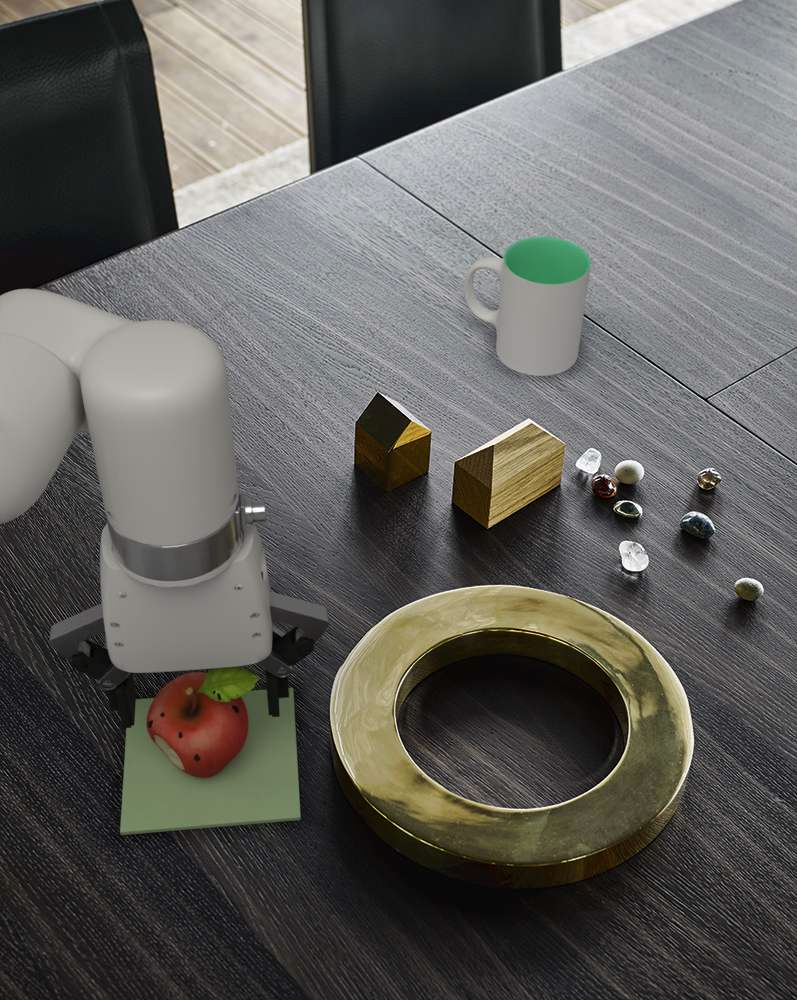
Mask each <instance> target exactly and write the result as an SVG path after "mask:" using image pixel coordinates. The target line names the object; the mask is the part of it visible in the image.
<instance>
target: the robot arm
mask: <svg viewBox="0 0 797 1000" xmlns="http://www.w3.org/2000/svg"><path fill="white" fill-rule="evenodd" d="M80 433H87V434H89V437H90V438H89V439H90V443H91V449H92V452H93V453H92V454H93V459H94V463H95V464H94V465H95V468H96V474H97V478H98V483H99V488H100V493H101V498H102V503H103V507H104V514H105V517H106V524H105V525H104V527H103V529H102V532H101V536H100V543H99V544H100V546H99V582H100V597H101V603H99V604H96V605H95V606H92V607H90V608H88V609H86V610H84V611H81V612H79V613H77V614H75V615H72V616H70V617H68V618H66V619H63V620H61V621H58V622H56V623H54V624H53V625H51V627H50V631H49V632H50V633H49V641H48V644H49V646H50V648H52V649H53V650H54V651H55V652H57V653H58V654H59V655H60V656H61V657H63V658H64V659H65V660H66V659H67V660H68V661H69V662H70V666H71V668H72V669H73V670H74V671H78V672H80V673H82V674H84V675H86V676H87V677H90V678H92V679H94V680H97V687H98V688H99V689H101V690H103V691H106V694H107V695H106V696H107V699H108V704H109V709H110V711H118V713H119V717H120V721H121V725H122V729H126V728H131V726H133V725H134V722H135V704H136V699H137V688H136V684H135V678H134V674H133V673H135V674H149V673H151V674H152V673H167V672H168V673H169V672H181V671H183V672H184V671H196V670H198V671H199V670H211V669H214V668H224V667H227V668H228V667H235V666H237V667H243V666H244V667H245V666H249V665H254V664H256V665H257V666H259V667H261V669H264V671H265V685H266V687H265V688H266V690H267V699H268V711H269V715H272V717H280V712H279V698H289V688H290V686H289V677H290V676H291V675H292V674H293V667H294V666H295V665H297V664H298V663H299V662H301V661H302V660H303V659H305V658H306V657H308V656H309V655H310V654H312V653H313V652H314V650H315V645H316V643H317V642H320V640H321V639H322V637H323V636H324V634H325V633H326V632H327V630H328V629H329V627H330V617H329V616H330V614H329V608H327V607H326V606H324V605H321V604H318V603H314V602H310V601H306V600H303V599H299V598H297V597H292V596H289V595H286V594H282V593H278V592H275V591H271V585H270V578H269V571H268V565H267V561H266V555H265V551H264V547H263V544H262V540H261V537H260V534H259V531H258V527H257V526H256V524H265V523H267V513H266V512H267V511H266V499H259V500H256V499H255V500H253V499H252V497H251V498H250V497H249V498H246V496H245V493H240V483H239V481H238V471H237V461H236V451H235V449H236V448H235V439H234V428H233V417H232V407H231V396H230V386H229V377H228V371H227V363H226V361H225V357H224V356H223V353H222V352H221V349H220V347H219V346H218V345H217V344H216V342H215V341H214V340H213V339H212V338H211V337H210V336H208V334H206V333H204V332H203V331H202V330H200V329H198V328H197V327H195V326H193V325H189V324H187V323H183V322H178V321H173V320H165V319H149V320H139V321H136V320H133V319H130V318H127V317H124V316H120V315H118V314H115V313H112V312H109V311H106V310H103V309H101V308H98V307H95V306H93V305H90V304H87V303H85V302H82V301H79V300H77V299H74V298H72V297H68V296H66V295H64V294H59V293H56V292H52V291H48V290H43V289H38V288H37V289H36V288H18V289H14V290H10V291H8V292H5V293H3V294H1V295H0V525H2V524H6V523H8V522H12V521H13V520H15V519H16V518H18V517H20V516H22V515H23V514H25V513H26V512H27V511H29V509H31V507H32V506H33V505H35V503H36V502H37V501H38V500H39V499H40V497H41V496H42V495H43V494H44V492H45V490H46V489H47V486H48V485H49V484H50V482H51V480H52V478H54V477H53V476H54V475H55V474H56V472H57V470H58V468H59V466H60V465H61V464H62V461H63V460H64V458H65V456H66V454H67V452H68V450H69V449H70V447H71V445H72V443H73V442H74V440H75V438H76V436H77V435H79V434H80ZM273 621H274V622H278V623H281V624H286V625H289V626H292V627H293V628H291V629H290V630H288V631H287V632H286V633H285V632H283V631H282V630H280V629H279V628H278V627H277V626H275V625H273ZM101 634H105V642H106V643H105V645H104V646H101V645H99V644H98V643H95V642H94V641H91V640H90V639H92V638H94V637H96V636H99V635H101Z"/></svg>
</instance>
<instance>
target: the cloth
mask: <svg viewBox="0 0 797 1000" xmlns="http://www.w3.org/2000/svg"><path fill="white" fill-rule="evenodd" d="M294 693H295V692H294V688H293V687H289V698H279V712H280V717H272V715H269V711H268V699H267V689H257V690H256V689H255V690H250V691H249V692H248V693H246V694H244V695H242V696H241V697H242V699H243V701H244V703H245V706H246V709H247V713H248V721H249V725H248V735H247V739H246V742H245V744H244V746H243V748H242V750H241V751H240V752H239V754H238V755H237V756H236V757H235V758H234V759H233V760H232V761H231V762H230V763H229V764H228V765H227V766H226V767H225V768H224V769H223V770H222V771H221V772H219V773H218V774H216V775H215V776H212V777H209V778H199V777H194V776H191V775H189V774H186V773H185V772H183V771H181V770H180V769H179V768H177V767H176V766H175V765H174V764H173V763H172V762H171V760H170V759H169V758H168V757H167V756H166V755H165V753H164V752H163V751H162V750H161V749H160V748H159V747H158V746H157V745H156V744H155V743H154V742H153V740H152V739H151V737H150V735H149V733H148V731H147V725H146V720H147V714H148V711H149V708H150V706H151V704H152V702H153V700H154V698H155V697H147V698H136V704H135V722H134V725H133V726H131V728H125V743H124V744H125V745H124V759H123V760H124V761H123V762H124V763H123V780H122V795H121V811H120V824H119V825H120V826H119V827H120V828H119V833H120V836H129V835H139V834H151V833H163V832H173V831H174V832H175V831H186V830H188V831H189V830H197V829H211V828H222V827H234V826H235V827H236V826H246V825H257V824H258V825H259V824H270V823H282V822H295V821H301V820H302V815H301V799H300V782H299V766H298V765H299V764H298V748H297V747H298V746H297V729H296V712H295V711H296V710H295V696H294V695H295V694H294Z"/></svg>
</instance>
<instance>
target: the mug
mask: <svg viewBox="0 0 797 1000" xmlns="http://www.w3.org/2000/svg"><path fill="white" fill-rule="evenodd" d="M591 266H592V260H591V257H590V256H589V254H588V253H587V252H586V250H585V249H583V248H582V247H581V246H579V245H577V244H576V243H574V242H572V241H569V240H566V239H562V238H558V237H552V236H532V237H528V238H524V239H521V240H517V241H516V242H513V243H512V244H511V245H509V246H508V247H507V248H506V250H505V251H504V254H503V257H496V256H484V257H480V258H479V259H477V260H475V261H474V262H473V264H471V266H470V267H469V268H468V269H467V272H466V274H465V276H464V280H463V295H464V300H465V303H466V306H467V307H468V309H469V310H470V312H471V313H472V314H473V315H474V316H476V317H477V318H478V319H479V320H481V321H483V322H485V323H487V324H490V325H492V326H494V327H495V330H496V344H495V352H496V355H497V357H498V359H499V360H500V362H501V363H502V364H504V365H505V366H506V367H507V368H509V369H511V370H512V371H515V372H517V373H520V374H523V375H528V376H534V377H547V376H554V375H558V374H561V373H564V372H565V371H568V370H569V369H571V368H572V367H573V366H574V365H575V364H576V362H577V360H578V357H579V350H580V343H581V337H582V330H583V323H584V316H585V310H586V309H585V307H586V302H587V294H588V287H589V280H590V271H591ZM483 269H485V270H490V271H492V272H494V273H495V274H496V275H497V277H498V279H499V289H500V291H499V303H498V304H499V305H498V308H497V309H496V310H492V309H489V308H487V307H485V306H484V305H483V304H482V303H481V302H480V301H479V299H478V298H477V295H476V292H475V288H474V278H475V274H476V273H477V271H478V270H483Z"/></svg>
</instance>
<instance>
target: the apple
mask: <svg viewBox="0 0 797 1000" xmlns="http://www.w3.org/2000/svg"><path fill="white" fill-rule="evenodd" d="M259 680H261V678H260V677H259V676H258V675H256V674H255V673H253V672H252V671H249V670H248V669H246V668H243V667H241V666H235V667H224V668H211V669H209V671H207V672H201V671H192V672H187V673H184V674H182V675H179V676H177V677H175V678H173V679H172V680H170V681H169V682H168V683H166V684H165V685H164V686H163V687H162V688H161V689H160V690H159V691H158V692H157V694H156V695H155V697H153V698H154V700H153V702H152V704H151V706H150V708H149V711H148V714H147V720H146V725H147V731H148V733H149V735H150V737H151V739H152V740H153V742H154V743H155V744H156V745H157V746H158V747H159V748H160V749H161V750H162V751H163V752H164V753H165V755H166V756H167V757H168V758H169V759H170V760H171V762H172V763H173V764H174V765H175V766H176V767H177V768H179V769H180V770H181V771H183V772H185V773H186V774H189V775H191V776H194V777H199V778H209V777H212V776H215V775H216V774H218V773H219V772H221V771H222V770H223V769H224V768H225V767H226V766H227V765H228V764H229V763H230V762H231V761H232V760H233V759H234V758H235V757H236V756H237V755H238V754H239V752H240V751H241V750H242V748H243V746H244V744H245V742H246V739H247V735H248V725H249V721H248V713H247V709H246V706H245V703H244V701H243V699H242V697H241V696H242V695H244V694H246V693H248V692H249V691H253V689H254V688H255V687H256V683H258V681H259Z"/></svg>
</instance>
